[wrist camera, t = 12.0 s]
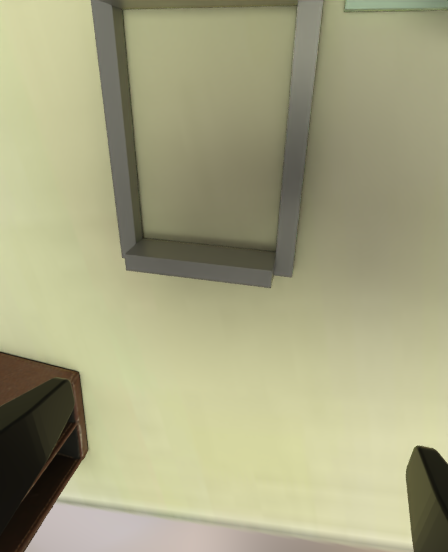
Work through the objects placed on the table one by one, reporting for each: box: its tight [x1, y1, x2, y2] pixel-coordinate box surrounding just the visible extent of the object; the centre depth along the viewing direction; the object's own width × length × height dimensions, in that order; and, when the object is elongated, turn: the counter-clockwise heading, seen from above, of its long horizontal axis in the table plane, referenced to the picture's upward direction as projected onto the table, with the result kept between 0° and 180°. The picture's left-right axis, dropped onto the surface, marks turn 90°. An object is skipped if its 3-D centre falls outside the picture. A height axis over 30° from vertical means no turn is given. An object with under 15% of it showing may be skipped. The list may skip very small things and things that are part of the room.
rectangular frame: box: [91, 0, 324, 288], centre depth 18 cm, size 10×14×2 cm
